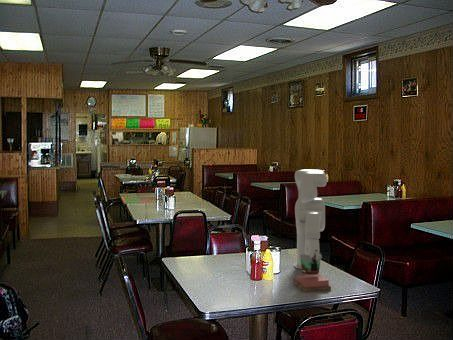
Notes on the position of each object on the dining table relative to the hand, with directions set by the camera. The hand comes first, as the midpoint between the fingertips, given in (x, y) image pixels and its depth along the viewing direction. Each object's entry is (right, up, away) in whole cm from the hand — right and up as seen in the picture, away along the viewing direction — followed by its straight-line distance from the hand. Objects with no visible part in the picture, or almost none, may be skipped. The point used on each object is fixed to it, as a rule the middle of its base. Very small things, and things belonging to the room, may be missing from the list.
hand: (312, 268), depth 258 cm
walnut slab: (0, -11, +1) cm, 11 cm away
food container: (0, -3, 0) cm, 3 cm away
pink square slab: (0, -8, 0) cm, 8 cm away
